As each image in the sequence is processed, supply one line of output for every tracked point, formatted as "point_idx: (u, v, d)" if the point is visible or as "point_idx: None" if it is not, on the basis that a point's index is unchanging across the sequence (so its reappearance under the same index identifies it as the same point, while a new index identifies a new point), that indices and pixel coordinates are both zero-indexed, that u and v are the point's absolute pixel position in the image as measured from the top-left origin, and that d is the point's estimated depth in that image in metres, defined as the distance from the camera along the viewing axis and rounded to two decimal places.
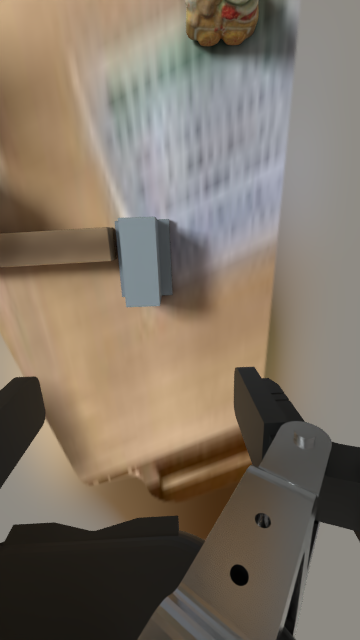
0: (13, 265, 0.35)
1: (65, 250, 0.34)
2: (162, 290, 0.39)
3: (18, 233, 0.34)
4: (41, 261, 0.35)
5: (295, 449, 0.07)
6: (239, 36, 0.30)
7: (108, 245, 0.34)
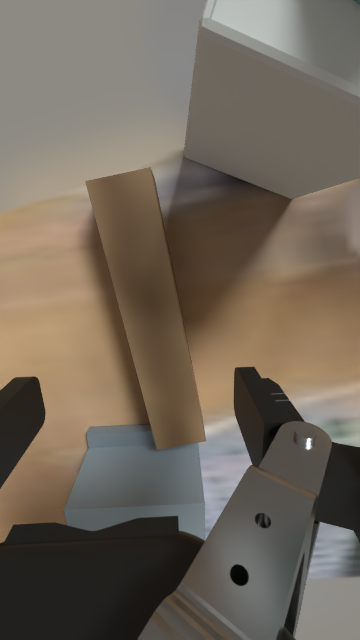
0: (120, 306, 0.19)
1: (161, 388, 0.21)
2: None
3: (178, 316, 0.19)
4: (137, 352, 0.20)
5: (295, 449, 0.07)
6: None
7: (179, 444, 0.22)
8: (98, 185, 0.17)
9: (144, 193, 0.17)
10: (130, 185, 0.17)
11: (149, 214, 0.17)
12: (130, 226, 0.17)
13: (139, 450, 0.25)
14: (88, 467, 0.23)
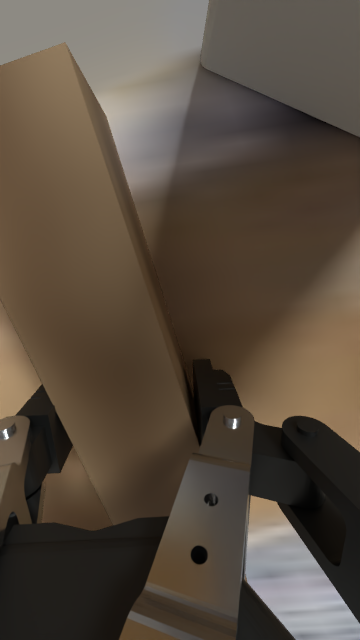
0: (50, 389, 0.09)
1: None
2: None
3: (179, 398, 0.09)
4: (100, 474, 0.10)
5: (219, 428, 0.07)
6: None
7: None
8: None
9: (61, 120, 0.07)
10: (21, 99, 0.06)
11: (83, 174, 0.07)
12: (39, 209, 0.07)
13: None
14: None
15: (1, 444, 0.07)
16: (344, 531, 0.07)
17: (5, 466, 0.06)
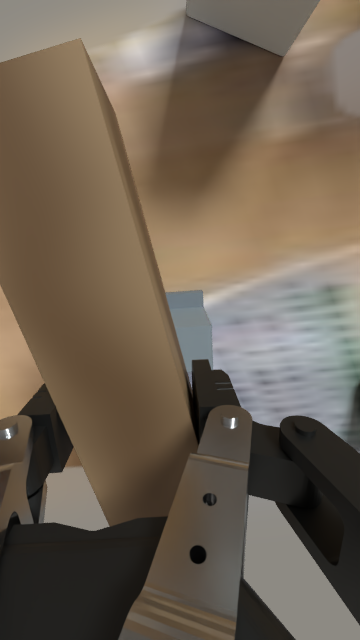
0: (51, 386, 0.09)
1: None
2: None
3: (180, 398, 0.09)
4: (98, 473, 0.10)
5: (218, 427, 0.07)
6: None
7: None
8: None
9: (73, 116, 0.07)
10: (34, 93, 0.06)
11: (93, 171, 0.07)
12: (47, 205, 0.07)
13: None
14: None
15: (3, 443, 0.07)
16: (342, 530, 0.07)
17: (7, 466, 0.06)
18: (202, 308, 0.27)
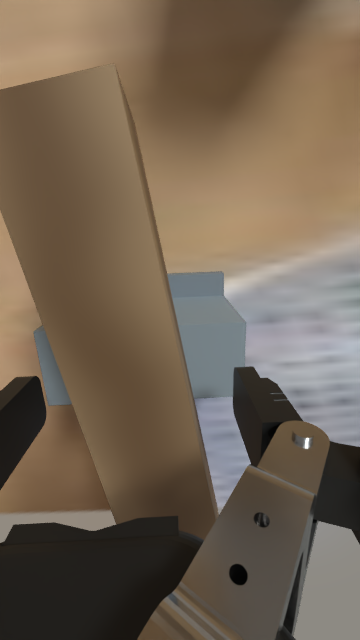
0: (65, 373, 0.09)
1: (152, 513, 0.11)
2: None
3: (183, 390, 0.10)
4: (102, 456, 0.10)
5: (293, 448, 0.07)
6: None
7: None
8: None
9: (103, 130, 0.07)
10: (69, 109, 0.07)
11: (117, 181, 0.08)
12: (74, 208, 0.08)
13: None
14: None
15: None
16: None
17: None
18: (222, 297, 0.18)
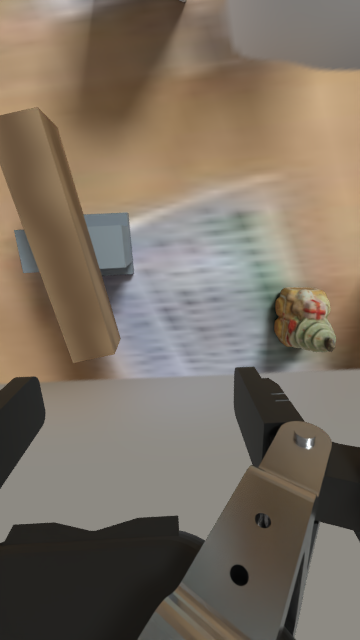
0: (26, 230, 0.23)
1: (70, 305, 0.25)
2: None
3: (76, 239, 0.23)
4: (45, 273, 0.24)
5: (295, 449, 0.07)
6: (278, 332, 0.36)
7: (92, 357, 0.26)
8: None
9: (34, 130, 0.21)
10: (22, 122, 0.20)
11: (41, 148, 0.21)
12: (26, 159, 0.21)
13: None
14: None
15: None
16: None
17: None
18: (126, 226, 0.32)
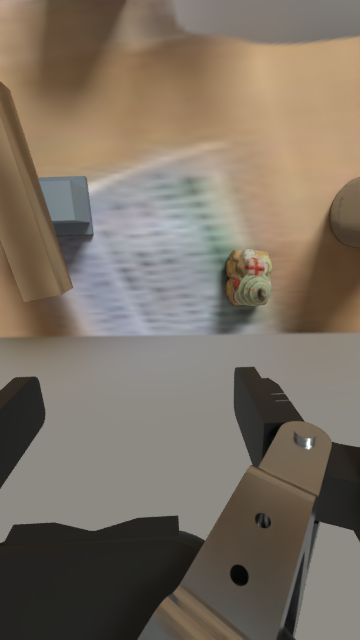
0: None
1: (19, 248, 0.28)
2: None
3: (22, 186, 0.26)
4: None
5: (295, 449, 0.07)
6: (227, 292, 0.39)
7: (41, 297, 0.29)
8: None
9: None
10: None
11: None
12: None
13: None
14: None
15: None
16: None
17: None
18: (83, 188, 0.35)
